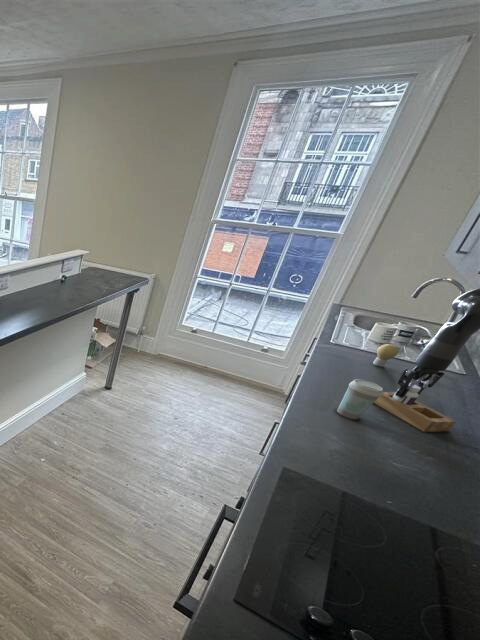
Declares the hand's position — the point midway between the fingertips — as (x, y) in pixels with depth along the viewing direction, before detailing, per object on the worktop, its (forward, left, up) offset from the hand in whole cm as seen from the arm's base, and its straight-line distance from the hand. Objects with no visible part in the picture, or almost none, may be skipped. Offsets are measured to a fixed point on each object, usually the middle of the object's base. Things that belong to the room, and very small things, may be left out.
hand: (405, 396), depth 141 cm
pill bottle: (0, 0, -6) cm, 6 cm away
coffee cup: (+24, +3, -6) cm, 25 cm away
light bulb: (-32, -33, -6) cm, 46 cm away
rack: (0, +4, -5) cm, 7 cm away
